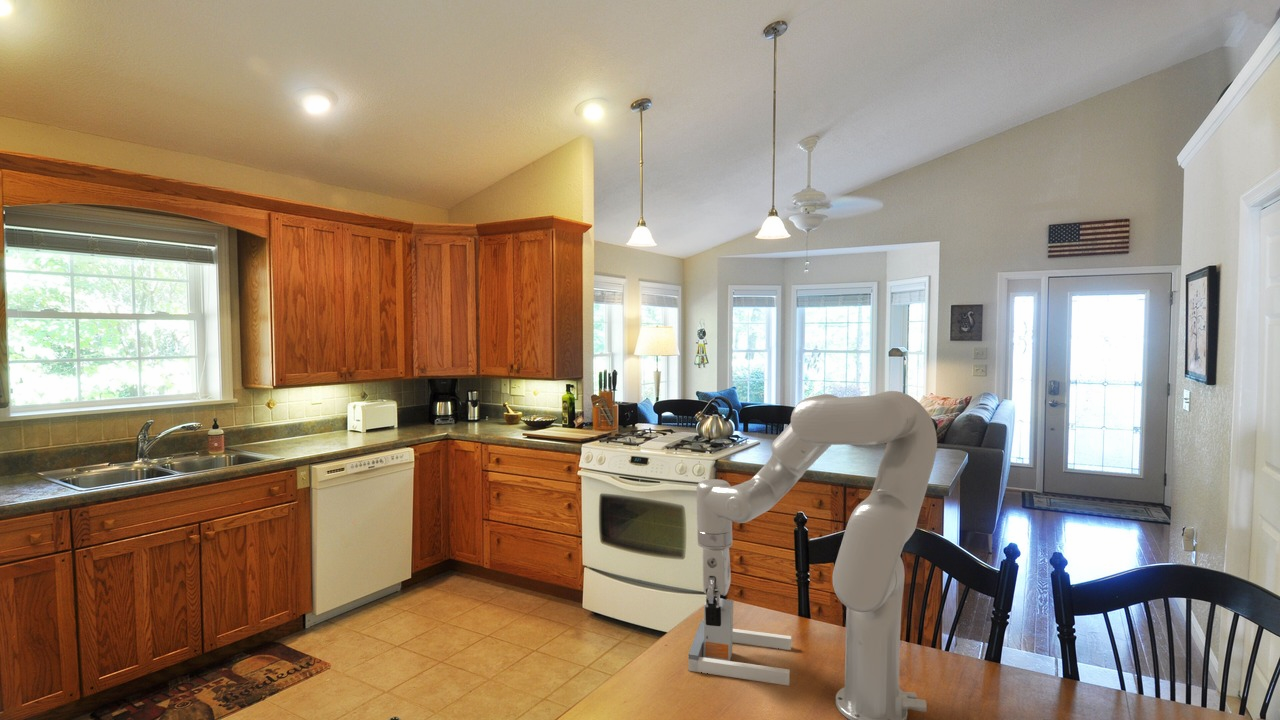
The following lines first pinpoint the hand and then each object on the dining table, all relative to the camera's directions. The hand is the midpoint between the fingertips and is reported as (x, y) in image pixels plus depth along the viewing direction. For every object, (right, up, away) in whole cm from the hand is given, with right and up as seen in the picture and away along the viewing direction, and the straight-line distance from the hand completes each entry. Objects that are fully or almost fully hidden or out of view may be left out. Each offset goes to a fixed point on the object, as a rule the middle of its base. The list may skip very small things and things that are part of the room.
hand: (716, 615), depth 135 cm
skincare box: (0, -9, 0) cm, 9 cm away
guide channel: (+6, -9, -1) cm, 11 cm away
